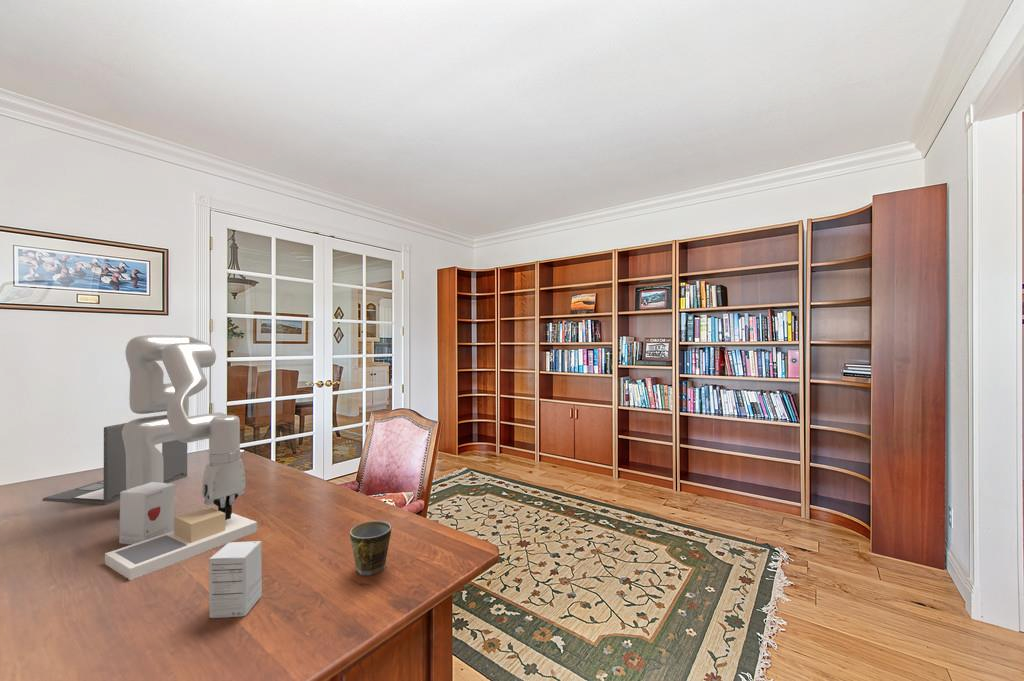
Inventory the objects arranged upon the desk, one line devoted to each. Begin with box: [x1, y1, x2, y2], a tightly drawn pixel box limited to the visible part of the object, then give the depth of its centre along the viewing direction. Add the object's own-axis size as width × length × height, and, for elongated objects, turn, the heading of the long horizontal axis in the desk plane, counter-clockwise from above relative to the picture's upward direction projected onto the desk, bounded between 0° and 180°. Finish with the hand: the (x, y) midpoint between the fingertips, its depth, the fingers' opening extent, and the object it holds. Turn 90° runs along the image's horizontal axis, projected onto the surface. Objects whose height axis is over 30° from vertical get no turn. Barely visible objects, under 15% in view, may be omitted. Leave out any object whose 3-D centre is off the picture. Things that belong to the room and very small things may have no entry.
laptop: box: [42, 422, 188, 506], centre depth 164 cm, size 32×26×28 cm
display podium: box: [104, 512, 258, 581], centre depth 118 cm, size 15×30×3 cm, turn 151°
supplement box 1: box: [119, 482, 176, 545], centre depth 123 cm, size 9×9×15 cm
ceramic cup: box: [349, 520, 392, 576], centre depth 106 cm, size 13×10×10 cm
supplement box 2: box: [208, 540, 263, 619], centre depth 91 cm, size 7×7×13 cm
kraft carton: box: [174, 506, 225, 543], centre depth 120 cm, size 10×8×5 cm
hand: (225, 518), depth 126 cm, fingers closed
